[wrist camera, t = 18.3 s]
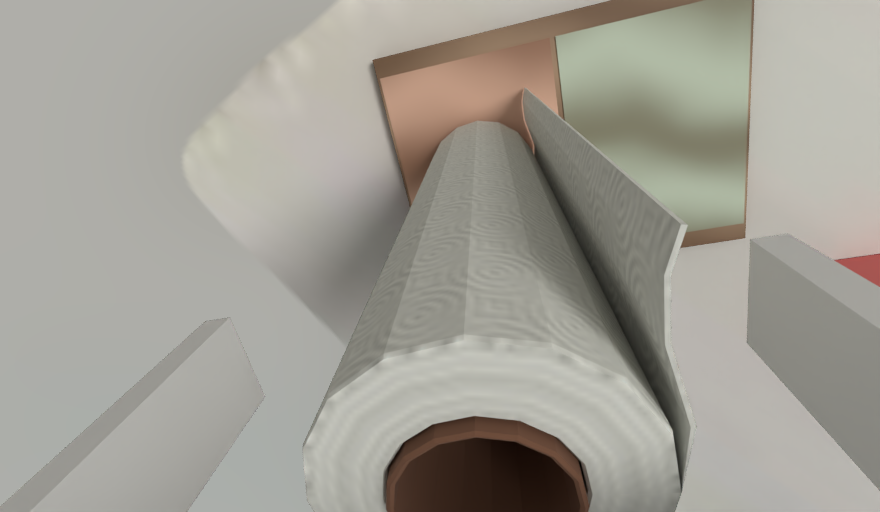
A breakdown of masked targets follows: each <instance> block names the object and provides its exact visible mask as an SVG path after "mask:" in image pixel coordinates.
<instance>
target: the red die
mask: <svg viewBox="0 0 880 512" xmlns="http://www.w3.org/2000/svg"><path fill="white" fill-rule="evenodd" d="M834 261H836V262H838V263H839V264H841V265H843V266H845V267H846V268H848V269H850V270H851V271H853V272H855V273H856V274H858V275H860V276H862V277H863V278H865V279H867V280H868V281H870V282H872V283H874V284H875V285H877V286H879V287H880V254H876V255H869V256H862V257H854V258H847V259H840V260H834Z"/></svg>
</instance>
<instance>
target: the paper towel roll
mask: <svg viewBox="0 0 880 512" xmlns="http://www.w3.org/2000/svg"><path fill="white" fill-rule="evenodd" d="M522 101H523V109H524V117H525V121H526V124H527V127H528V130H529V132H530V135H531V138H532V140H533V143H534V153H533V151H532V149H531V148H530V147H529V145H528V144H527V143H526V142H525V140H524V139H523V138H522V137H521V135H520V134H519V133H518V132H517V131H515V130H513V129H511V128H509V127H507V126H505V125H503V124H501V123H499V122H489V121H475V122H472V123H469V124H466V125H463V126H460V127H457V128H456V129H455V130H454V131H452V132H451V133H450V134H449V135H448V136H447V137H446V138H445V139H443V140H442V141H441V142H440V144H439V147H438V149H437V151H436V153H435V155H434V157H433V159H432V161H431V163H430V166H429V168H428V170H427V172H426V174H425V177H424V179H423V181H422V183H421V185H420V188H419V190H418V192H417V194H416V196H415V199H414V201H413V203H412V205H411V207H410V210H409V212H408V214H407V216H406V218H405V221H404V223H403V225H402V227H401V230H400V232H399V234H398V236H397V238H396V241H395V243H394V245H393V247H392V249H391V252H390V254H389V256H388V258H387V260H386V263H385V265H384V267H383V269H382V271H381V274H380V276H379V278H378V280H377V282H376V285H375V287H374V289H373V291H372V293H371V296H370V298H369V300H368V302H367V304H366V307H365V309H364V311H363V313H362V316H361V318H360V320H359V322H358V324H357V327H356V329H355V331H354V333H353V335H352V338H351V340H350V342H349V344H348V346H347V349H346V351H345V353H344V355H343V357H342V360H341V362H340V364H339V366H338V369H337V371H336V373H335V375H334V378H333V379H332V382H331V384H330V386H329V388H328V391H327V393H326V395H325V397H324V399H323V402H322V404H321V406H320V408H319V410H318V413H317V415H316V417H315V419H314V421H313V424H312V426H311V428H310V430H309V432H308V435H307V437H306V439H305V441H304V443H303V460H304V472H305V483H306V494H307V501H308V503H309V505H310V506H311V507H312V509H313V511H314V512H675V510H676V507H677V504H678V501H679V498H680V496H681V493H682V488H683V484H684V480H685V475H686V471H687V467H688V462H689V458H690V454H691V449H692V445H693V441H694V436H695V432H696V428H697V426H696V422H695V419H694V416H693V413H692V409H691V406H690V403H689V400H688V396H687V393H686V390H685V387H684V383H683V380H682V377H681V374H680V371H679V367H678V364H677V361H676V358H675V354H674V351H673V348H672V345H671V273H672V271H673V268H674V265H675V262H676V259H677V256H678V253H679V250H680V247H681V244H682V241H683V238H684V235H685V232H686V229H687V226H688V225H687V224H686V223H685V222H684V221H683V220H681V219H680V218H679V217H678V216H677V215H676V214H674V213H673V212H672V211H671V210H670V209H668V208H667V207H666V206H665V205H664V204H663V203H661V202H660V201H659V200H658V199H657V198H655V197H654V196H653V195H652V194H651V193H650V192H648V191H647V190H646V189H645V188H644V187H642V186H641V185H640V184H639V183H638V182H637V181H635V180H634V179H633V178H632V177H631V176H629V175H628V174H627V173H626V172H625V171H624V170H622V169H621V168H620V167H619V166H618V165H616V164H615V163H614V162H613V161H612V160H611V159H609V158H608V157H607V156H606V155H605V154H604V153H602V152H601V151H600V150H599V149H598V148H596V147H595V146H594V145H593V144H592V143H591V142H589V141H588V140H587V139H586V138H585V137H583V136H582V135H581V134H580V133H579V132H578V131H576V130H575V129H574V128H573V127H572V126H570V125H569V124H568V123H567V122H566V121H565V120H563V119H562V118H561V117H560V116H559V115H557V114H556V113H555V112H554V111H553V110H552V109H550V108H549V107H548V106H547V105H546V104H544V103H543V102H542V101H541V100H540V99H539V98H537V97H536V96H535V95H534V94H533V93H531V92H530V91H529V90H528V89H527V88H524V94H523V100H522Z"/></svg>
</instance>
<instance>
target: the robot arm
mask: <svg viewBox="0 0 880 512" xmlns="http://www.w3.org/2000/svg"><path fill="white" fill-rule="evenodd" d="M747 343H748V345H749V346H750V347H751V348H752V349H753V350H754V351H755V352H756V353H757V355H758V356H759V357H760V358H761V359H762V360H763V361H764V362H765V363H766V365H767V366H768V367H769V368H770V369H771V370H772V371H773V372H774V373H775V375H776V376H777V377H778V378H779V379H780V380H781V381H782V382H783V383H784V385H785V386H786V387H787V388H788V389H789V390H790V391H791V392H792V394H793V395H794V396H795V397H796V398H797V399H798V400H799V401H800V402H801V404H802V405H803V406H804V407H805V408H806V409H807V410H808V411H809V412H810V414H811V415H812V416H813V417H814V418H815V419H816V420H817V421H818V422H819V424H820V425H821V426H822V427H823V428H824V429H825V430H826V431H827V432H828V434H829V435H830V436H831V437H832V438H833V439H834V440H835V441H836V442H837V444H838V445H839V446H840V447H841V448H842V449H843V450H844V451H845V453H846V454H847V455H848V456H849V457H850V458H851V459H852V460H853V461H854V463H855V464H856V465H857V466H858V467H859V468H860V469H861V470H862V471H863V473H864V474H865V475H866V476H867V477H868V478H869V479H870V480H871V481H872V483H873V484H874V485H875V486H876V487H877V488H878V489H879V490H880V287H879V286H877V285H875V284H874V283H872V282H870V281H868V280H867V279H865V278H863V277H862V276H860V275H858V274H856V273H855V272H853V271H851V270H850V269H848V268H846V267H845V266H843V265H841V264H839V263H838V262H836V261H834V260H833V259H831V258H829V257H827V256H826V255H824V254H822V253H821V252H819V251H817V250H816V249H814V248H812V247H810V246H809V245H807V244H805V243H804V242H802V241H800V240H798V239H797V238H795V237H793V236H792V235H790V234H782V235H775V236H768V237H762V238H755V239H750V261H749V291H748V320H747ZM264 398H265V395H264V393H263V391H262V389H261V386H260V384H259V382H258V379H257V377H256V375H255V373H254V370H253V368H252V366H251V364H250V361H249V359H248V357H247V355H246V353H245V350H244V348H243V346H242V344H241V342H240V339H239V337H238V335H237V332H236V330H235V328H234V326H233V323H232V321H231V319H230V318H223V319H216V320H210V321H205V322H204V323H203V324H202V325H201V326H199V328H197V329H196V330H195V331H194V332H193V333H192V334H191V335H190V336H188V337H187V338H186V339H185V340H184V341H183V342H182V343H181V344H180V345H178V346H177V347H176V348H175V349H174V350H173V351H172V352H171V353H170V354H168V355H167V356H166V357H165V358H164V359H163V360H162V361H161V362H160V363H159V364H157V365H156V366H155V367H154V368H153V369H152V370H151V371H150V372H149V373H147V374H146V375H145V376H144V377H143V378H142V379H141V380H140V381H139V382H137V383H136V384H135V385H134V386H133V387H132V388H131V389H130V390H129V391H127V392H126V393H125V394H124V395H123V396H122V397H121V398H120V399H119V400H118V401H116V402H115V403H114V404H113V405H112V406H111V407H110V408H109V409H108V410H107V411H105V412H104V413H103V414H102V415H101V416H100V417H99V418H98V419H96V420H95V421H94V422H93V423H92V424H91V425H90V426H89V427H88V428H86V429H85V430H84V431H83V432H82V433H81V434H80V435H79V436H78V437H77V438H75V439H74V440H73V441H72V442H71V443H70V444H69V445H68V446H67V447H65V448H64V449H63V450H62V451H61V452H60V453H59V454H58V455H57V456H55V457H54V458H53V459H52V460H51V461H50V462H49V463H48V464H47V465H46V466H45V467H43V468H42V469H41V470H40V471H39V472H38V473H37V474H36V475H34V476H33V477H32V478H31V479H30V480H29V481H28V482H27V483H26V484H24V486H22V487H21V488H20V489H19V490H18V491H17V492H16V493H15V494H14V495H12V496H11V497H10V498H9V499H8V500H7V501H6V502H5V503H3V504H2V505H1V506H0V512H187V511H188V510H189V508H190V507H191V505H192V504H193V502H194V501H195V499H196V498H197V496H198V495H199V493H200V492H201V490H202V489H203V488H204V486H205V485H206V483H207V482H208V480H209V479H210V477H211V476H212V474H213V473H214V471H215V470H216V468H217V467H218V465H219V464H220V462H221V461H222V460H223V458H224V457H225V455H226V454H227V452H228V451H229V449H230V448H231V446H232V445H233V443H234V442H235V440H236V439H237V438H238V436H239V435H240V433H241V432H242V430H243V428H244V427H245V426H246V424H247V423H248V421H249V420H250V418H251V417H252V416H253V414H254V412H255V411H256V410H257V408H258V406H259V405H260V404H261V402H262V401H263V399H264Z"/></svg>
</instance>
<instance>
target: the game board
mask: <svg viewBox="0 0 880 512" xmlns="http://www.w3.org/2000/svg"><path fill="white" fill-rule="evenodd" d="M753 20H754V0H611V1H607V2H603V3H599V4H595V5H591V6H587V7H583V8H579V9H575V10H571V11H567V12H563V13H559V14H555V15H551V16H547V17H543V18H539V19H535V20H531V21H527V22H523V23H519V24H515V25H511V26H507V27H503V28H499V29H495V30H491V31H487V32H483V33H479V34H475V35H471V36H467V37H463V38H459V39H455V40H451V41H447V42H443V43H439V44H435V45H431V46H427V47H423V48H419V49H415V50H411V51H407V52H403V53H399V54H395V55H391V56H387V57H383V58H379V59H375V60H373V64H374V68H375V72H376V76H377V79H378V83H379V87H380V91H381V95H382V99H383V103H384V107H385V111H386V115H387V118H388V122H389V126H390V130H391V134H392V138H393V142H394V146H395V150H396V153H397V157H398V161H399V165H400V169H401V173H402V177H403V181H404V185H405V189H406V192H407V196H408V200H409V204H410V207H411V205H412V203H413V201H414V199H415V196H416V194H417V192H418V190H419V188H420V185H421V183H422V181H423V179H424V177H425V174H426V172H427V170H428V168H429V166H430V163H431V161H432V159H433V157H434V155H435V153H436V151H437V149H438V147H439V144H440V142H441V141H442V140H443V139H445V138H446V137H447V136H448V135H449V134H450V133H451V132H452V131H454V130H455V129H456V128H457V127H460V126H463V125H466V124H469V123H472V122H475V121H489V122H499V123H501V124H503V125H505V126H507V127H509V128H511V129H513V130H515V131H517V132H518V133H519V134H520V135H521V137H522V138H523V139H524V140H525V142H526V143H527V144H528V145H529V147H530V148H531V149H532V151H533V153H534V143H533V140H532V138H531V135H530V132H529V130H528V127H527V124H526V121H525V117H524V109H523V101H522V100H523V94H524V88H527V89H528V90H529V91H530V92H531V93H533V94H534V95H535V96H536V97H537V98H539V99H540V100H541V101H542V102H543V103H544V104H546V105H547V106H548V107H549V108H550V109H552V110H553V111H554V112H555V113H556V114H557V115H559V116H560V117H561V118H562V119H563V120H565V121H566V122H567V123H568V124H569V125H570V126H572V127H573V128H574V129H575V130H576V131H578V132H579V133H580V134H581V135H582V136H583V137H585V138H586V139H587V140H588V141H589V142H591V143H592V144H593V145H594V146H595V147H596V148H598V149H599V150H600V151H601V152H602V153H604V154H605V155H606V156H607V157H608V158H609V159H611V160H612V161H613V162H614V163H615V164H616V165H618V166H619V167H620V168H621V169H622V170H624V171H625V172H626V173H627V174H628V175H629V176H631V177H632V178H633V179H634V180H635V181H637V182H638V183H639V184H640V185H641V186H642V187H644V188H645V189H646V190H647V191H648V192H650V193H651V194H652V195H653V196H654V197H655V198H657V199H658V200H659V201H660V202H661V203H663V204H664V205H665V206H666V207H667V208H668V209H670V210H671V211H672V212H673V213H674V214H676V215H677V216H678V217H679V218H680V219H681V220H683V221H684V222H685V223H686V224H687V225H688V226H687V229H686V232H685V235H684V238H683V241H682V244H681V247H680V248H683V247H689V246H696V245H703V244H709V243H716V242H722V241H729V240H736V239H742V238H745V229H746V203H747V177H748V151H749V124H750V98H751V72H752V46H753Z"/></svg>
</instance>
